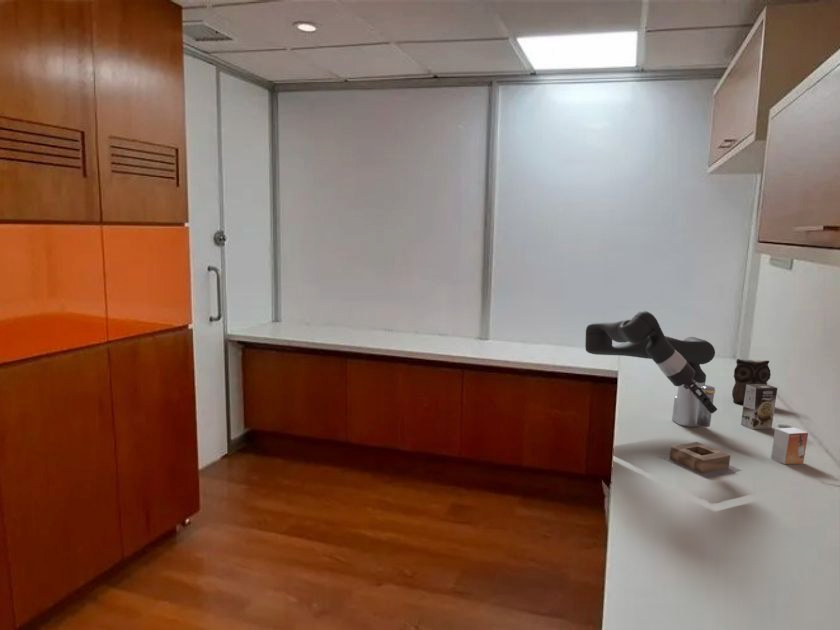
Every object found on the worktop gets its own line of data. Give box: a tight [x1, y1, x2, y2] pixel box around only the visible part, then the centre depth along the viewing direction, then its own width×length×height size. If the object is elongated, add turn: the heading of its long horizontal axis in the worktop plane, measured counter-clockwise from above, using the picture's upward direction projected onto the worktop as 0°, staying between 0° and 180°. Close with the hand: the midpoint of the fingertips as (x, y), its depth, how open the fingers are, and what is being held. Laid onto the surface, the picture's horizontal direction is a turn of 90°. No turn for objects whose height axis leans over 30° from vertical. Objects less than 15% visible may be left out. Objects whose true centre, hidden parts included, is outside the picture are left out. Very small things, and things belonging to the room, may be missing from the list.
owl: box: [731, 358, 771, 406], centre depth 262 cm, size 13×13×20 cm
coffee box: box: [740, 384, 778, 430], centre depth 231 cm, size 9×6×16 cm
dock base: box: [657, 453, 742, 479], centre depth 188 cm, size 18×16×2 cm
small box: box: [770, 427, 809, 465], centre depth 197 cm, size 8×6×10 cm
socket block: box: [669, 441, 731, 473], centre depth 188 cm, size 12×12×4 cm
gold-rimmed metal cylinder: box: [696, 384, 716, 428], centre depth 185 cm, size 4×4×12 cm
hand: (711, 408), depth 185 cm, fingers closed on gold-rimmed metal cylinder, 4 cm apart
